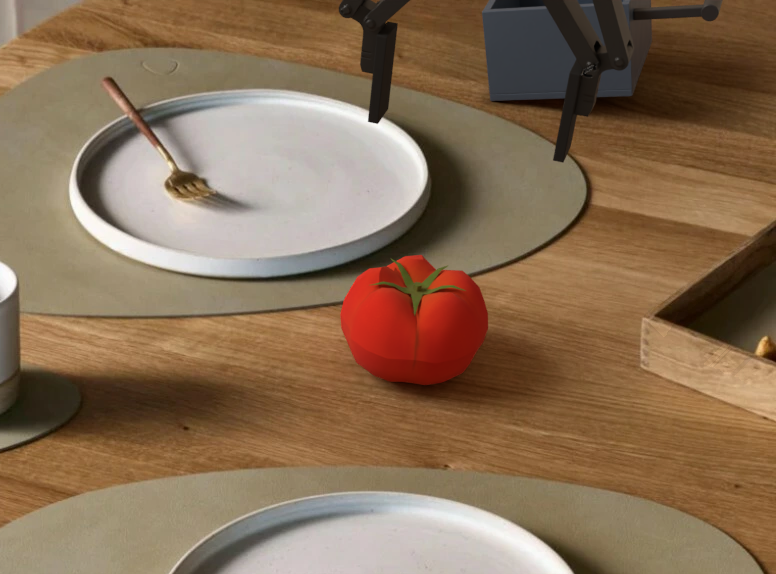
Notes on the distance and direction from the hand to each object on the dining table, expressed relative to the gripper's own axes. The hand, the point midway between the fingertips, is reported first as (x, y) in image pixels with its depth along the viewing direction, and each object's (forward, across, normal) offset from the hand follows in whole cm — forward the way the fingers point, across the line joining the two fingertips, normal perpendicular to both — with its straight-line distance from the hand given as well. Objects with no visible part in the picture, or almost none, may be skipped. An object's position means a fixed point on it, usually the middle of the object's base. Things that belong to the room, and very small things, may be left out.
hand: (468, 134), depth 109 cm
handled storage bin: (+13, +5, +48) cm, 50 cm away
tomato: (+16, -1, -6) cm, 17 cm away
